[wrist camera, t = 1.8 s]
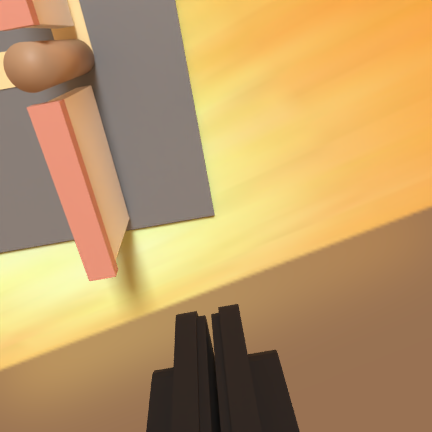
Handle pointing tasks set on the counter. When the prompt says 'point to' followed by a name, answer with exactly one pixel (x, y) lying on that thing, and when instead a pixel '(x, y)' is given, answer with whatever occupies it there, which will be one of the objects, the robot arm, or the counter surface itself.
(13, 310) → the counter surface
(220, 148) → the counter surface
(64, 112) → the fence gate
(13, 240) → the card
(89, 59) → the fence fixed
